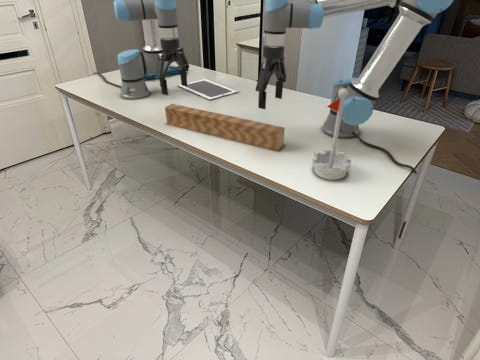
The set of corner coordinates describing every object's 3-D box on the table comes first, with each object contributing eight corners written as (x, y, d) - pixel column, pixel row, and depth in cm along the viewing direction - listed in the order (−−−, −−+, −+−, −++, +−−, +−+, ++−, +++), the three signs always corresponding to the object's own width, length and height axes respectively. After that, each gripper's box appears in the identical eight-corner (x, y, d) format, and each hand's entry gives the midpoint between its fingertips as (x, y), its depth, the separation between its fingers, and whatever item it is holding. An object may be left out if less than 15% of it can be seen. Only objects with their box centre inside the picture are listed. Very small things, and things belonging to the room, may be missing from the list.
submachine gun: (173, 60, 241) (193, 66, 225) (174, 66, 243) (193, 71, 227) (128, 69, 223) (145, 75, 206) (129, 75, 225) (146, 82, 208)
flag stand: (334, 159, 128) (348, 80, 112) (356, 176, 118) (375, 92, 101) (304, 166, 124) (314, 84, 108) (324, 184, 114) (338, 97, 97)
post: (283, 145, 138) (284, 127, 134) (278, 151, 134) (279, 132, 130) (174, 119, 161) (172, 103, 156) (166, 123, 157) (164, 107, 152)
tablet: (177, 86, 203) (177, 85, 202) (205, 79, 214) (205, 78, 213) (209, 100, 182) (209, 99, 182) (238, 91, 193) (238, 91, 193)
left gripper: (180, 32, 147) (185, 81, 159) (140, 42, 129) (149, 97, 140) (195, 34, 144) (198, 83, 156) (156, 44, 126) (163, 100, 137)
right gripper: (280, 38, 131) (276, 92, 142) (246, 50, 113) (245, 111, 125) (298, 40, 127) (292, 95, 139) (266, 53, 110) (263, 115, 121)
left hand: (175, 90), depth 148 cm, fingers open, 13 cm apart
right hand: (270, 103), depth 132 cm, fingers open, 13 cm apart
